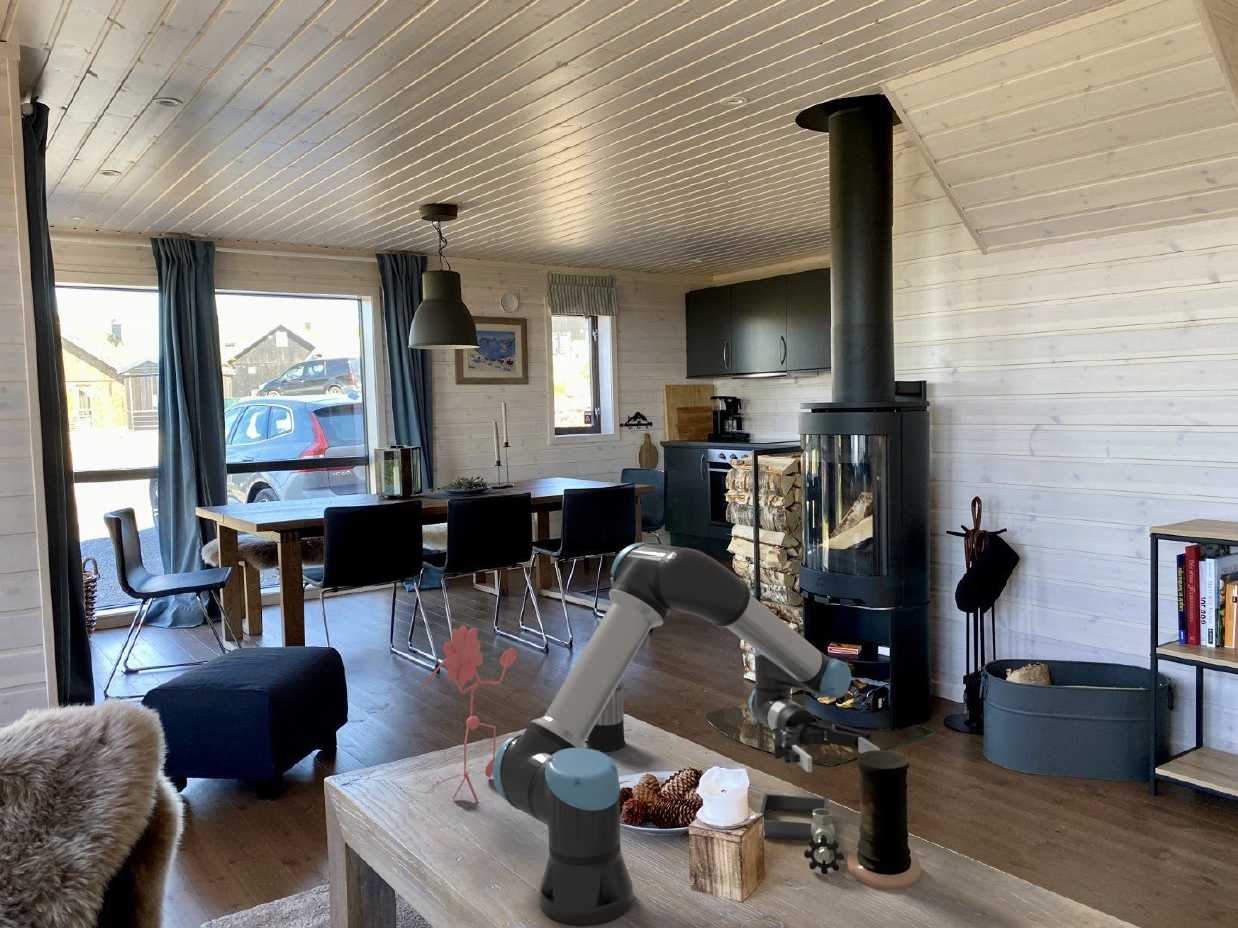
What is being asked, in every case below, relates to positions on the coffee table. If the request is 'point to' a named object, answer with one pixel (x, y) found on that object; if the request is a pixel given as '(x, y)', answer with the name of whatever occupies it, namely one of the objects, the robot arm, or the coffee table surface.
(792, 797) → the collar
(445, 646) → the figurine
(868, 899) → the coffee table surface
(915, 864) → the peach soap bar
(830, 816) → the valve
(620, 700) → the milk frother
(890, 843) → the container
